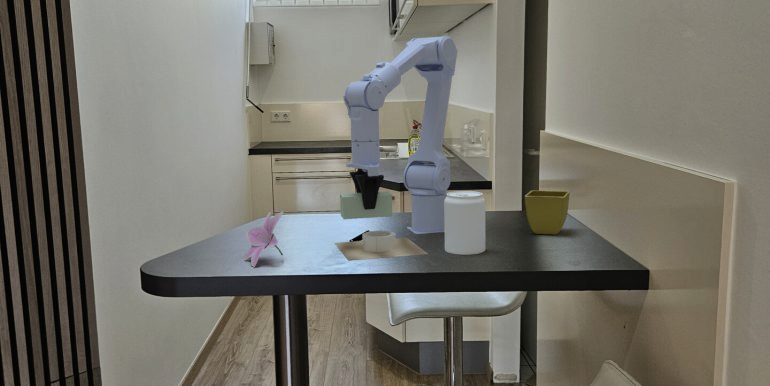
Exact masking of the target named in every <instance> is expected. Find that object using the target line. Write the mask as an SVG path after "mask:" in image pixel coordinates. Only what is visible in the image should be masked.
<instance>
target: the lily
mask: <svg viewBox="0 0 770 386" xmlns="http://www.w3.org/2000/svg"><path fill="white" fill-rule="evenodd" d="M271 213H272V212H271V211H269V212H268V214H267V215H266V217H265V219H264V220H263V223H262V226H261V225H257V226H253V227H251V228H250V229H248V230H247V231H246V239H247V241H248V243H249V244H250V245H251V246H250V247H249V249H248V251H246V254H245V256H244V258H243V261H244V260H245V261H246V260H247V259H249V258H250V262H251V267H252V266H254V268H255V267H256V265H257V264H258V260H259V258H260V256H261V254H262V252H263V251H264V250H265V249H267V248H268V249H269V248H271V247H275V248H276V249H277V250H278V252H279V253H280V255H281V256H284V254H283V252H282V251H281V249H280V247H278V246H277V245H278V243H279V242H278V239H277V237H276V235H275V234H274V230H275V228H276V226H277V224H278V223H279V221H280V220H281V218H282V216H283V214H284V211H281V212H278V213H277V214H275V215H274V216H272V215H271Z"/></svg>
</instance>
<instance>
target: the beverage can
mask: <svg viewBox="0 0 770 386" xmlns="http://www.w3.org/2000/svg"><path fill="white" fill-rule="evenodd" d="M446 193H447V197H446V198H445V200H444V222H445V232H444V251H445V252H446V253H449V254H452V255H463V256H464V255H465V256H467V255H468V256H469V255H470V256H471V255H478V254H481V253H484V252H485V251H486V199H485V198H484V196H483V195H484V193H483V192H479V191H471V190H460V191H459V190H458V191H450V192H446Z"/></svg>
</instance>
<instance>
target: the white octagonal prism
mask: <svg viewBox="0 0 770 386" xmlns="http://www.w3.org/2000/svg"><path fill="white" fill-rule="evenodd" d="M361 235H362V241H363V249H364V250H365V251H370V252H386V251H391V250H394V249H396V238H397V234H396V233H395V232H394V231H393V230H392V231H390V230H370V231H369V230H368V231H366V232H363V233H362V234H361Z"/></svg>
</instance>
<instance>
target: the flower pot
mask: <svg viewBox="0 0 770 386" xmlns="http://www.w3.org/2000/svg"><path fill="white" fill-rule="evenodd" d="M570 194H571V192H570V191H569V190H536V189H535V190H534V189H533V190H530V191H529V192H527V194H525V195H524V205H525V211H526V212H525V213H526V218H527V222H528V224H529V227H530V228H531V230H532V232H533V233H534V234H535V235H553V236H554V235H555V236H557V235H558V234H559V233H560V231H562V229H563V226H564V224H565V222H566V219H567V217H568V212H569V202H570Z"/></svg>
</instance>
